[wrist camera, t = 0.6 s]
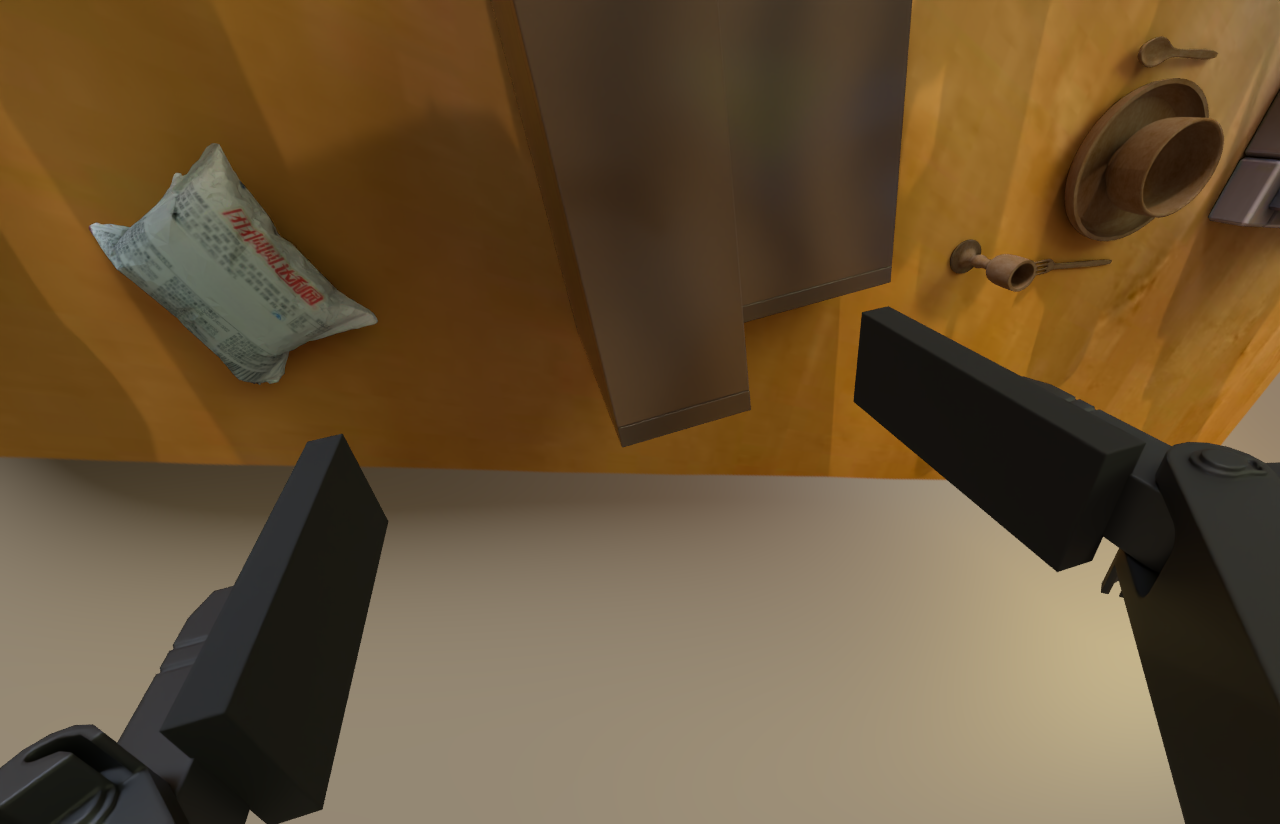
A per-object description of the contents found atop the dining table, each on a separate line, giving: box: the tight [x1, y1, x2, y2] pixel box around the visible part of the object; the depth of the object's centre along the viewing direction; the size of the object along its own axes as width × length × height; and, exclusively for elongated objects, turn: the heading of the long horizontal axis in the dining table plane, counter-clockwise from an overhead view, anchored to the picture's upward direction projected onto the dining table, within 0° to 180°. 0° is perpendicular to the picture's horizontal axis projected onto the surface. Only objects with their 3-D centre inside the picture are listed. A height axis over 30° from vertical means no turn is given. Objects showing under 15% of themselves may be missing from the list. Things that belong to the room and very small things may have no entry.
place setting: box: [950, 37, 1224, 292], centre depth 41 cm, size 18×20×6 cm
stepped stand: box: [491, 0, 912, 447], centre depth 28 cm, size 22×27×16 cm
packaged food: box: [89, 143, 378, 385], centre depth 31 cm, size 9×12×5 cm
